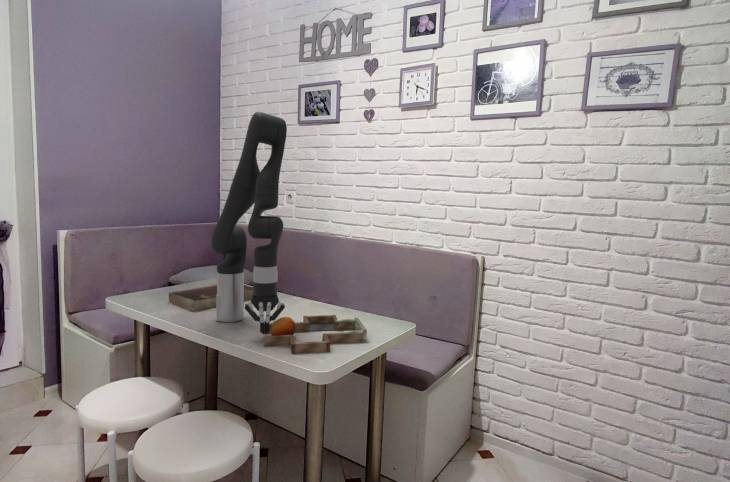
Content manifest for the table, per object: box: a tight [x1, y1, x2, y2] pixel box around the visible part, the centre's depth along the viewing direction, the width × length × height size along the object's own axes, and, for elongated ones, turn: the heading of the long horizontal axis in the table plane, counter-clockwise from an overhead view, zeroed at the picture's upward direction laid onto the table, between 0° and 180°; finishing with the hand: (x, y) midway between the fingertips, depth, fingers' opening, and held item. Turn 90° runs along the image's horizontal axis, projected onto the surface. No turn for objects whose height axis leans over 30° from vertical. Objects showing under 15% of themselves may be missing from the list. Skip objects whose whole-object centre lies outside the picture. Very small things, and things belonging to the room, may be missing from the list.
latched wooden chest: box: [168, 283, 253, 313], centre depth 185 cm, size 29×19×5 cm, turn 142°
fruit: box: [270, 316, 296, 338], centre depth 144 cm, size 8×8×8 cm
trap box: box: [263, 314, 368, 355], centre depth 146 cm, size 32×27×4 cm
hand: (264, 333), depth 142 cm, fingers closed
